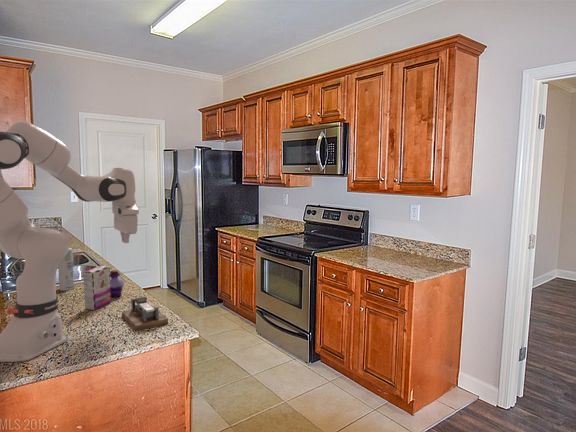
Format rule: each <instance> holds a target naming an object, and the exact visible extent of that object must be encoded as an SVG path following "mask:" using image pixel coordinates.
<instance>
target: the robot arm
mask: <svg viewBox="0 0 576 432" xmlns="http://www.w3.org/2000/svg"><path fill="white" fill-rule="evenodd" d="M71 158H72V154H71V149H70V148H69V147H68V145H66V144H65V143H64V142H63V141H61V140H60V139H59V138H57V137H56V136H54V135H53V134H52V133H49V132H48V131H47V130H45V129H43V128H41V127H39V126H37V125H35V124H33V123H31V122H28V121H18V122H16V123H13V124H11V126H9V128H8V129H7V130H6V131H0V251H1V252H2V253H3V254H6V255H7V256H10V257H12V258H15V259H20V260H24V262H25V263H24V267H23V270H22V273H21V274H20V275H19V276H18V277H17V278H16V281H15V284H16V287H15V288H16V303H15V307H14V308H13V307H9V308H8V307H7V309H6V314H7V315H12V316H13V317H12V318H11V320H9V322H8V324H7V325H6V326H5V327H4V328H3V330H2V331H1V333H0V363H2V362H5V363H7V362H8V363H11V362H12V363H16V362H17V363H18V362H23V361H24V362H25V361H29V360H31V359H34V358H36V357H38V356H40V355H42V354H44V353H45V352H48V351H49V350H52V349H54V348H56V347H58V346H60V345H62V344H64V343H66V342H67V340H68V339H67V337H66V336H65V334H64V329H63V328H64V327H63V323H62V317H61V315H60V313H59V311H58V309H59V299H58V296H57V286H56V285H57V283H56V282H57V281H56V279H57V278H56V277H57V271H58V265H59V263H60V261H61V259H62V258H64V257H65V256H66V254H67V253H68V251H69V248H71V244H70V242H71V241H70V240H69V238H68V236H67V234H65V233H63V232H62V231H59V230H56V229H55V228H50V227H49V228H48V227H38V226H37V225H34V224H33V223H32V222H31V221H30V219H29V217H28V214H29V208H28V205H26V203H25V202H24V201H23V200H22V199H21V198H20V196H19V195H18V194H17V193H16V192H15V190H14V189H13V188H12V187H11V186H10V185H9V184H8V182H6V180H5V178H4V176H3V173H2V170H9V169H12V168H13V169H14V168H15V167H16V166H19V165H20V164H21V163H22V161H23V160H24V159H25V160H27V161H28V162H29V163H31V164H33V165H35V166H36V167H39V168H40V169H41V170H44V171H45V172H47V173H48V174H50V175H51V176H52V177H54V178H55V179H56V180H59V181H60V182H62V183H63V184H64V185H66V186H67V187H68V188H70V189H71V190H72V192H73V193H74V195H75V196H76V197H77V198H78V199H79V200H80V201H83V202H86V203H88V202H90V203H91V202H97V203H98V202H99V203H102V202H103V203H106V202H107V203H109V202H111V208H112V209H111V210H112V212H111V213H112V214H114V215H113V227H114V230H117V231H119V232H120V237H121V242H122V243H124V244H129V243H130V235H136V234H137V231H138V220H139V219H138V215H139V213H140V212H139V208H138V207H137V199H136V197H135V194H136V177H135V175H134V172H133V171H132V170H130V169H128V168H123V167H115V168H113V169H112V170H111V171H110V172H109V173H107V174H104V175H102V176H93V175H92V176H91V175H84V174H81V173H80V172H79V171H77V170H75V169H74V168H73V167H71V165H69V164H70V162H71Z"/></svg>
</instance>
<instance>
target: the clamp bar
mask: <svg viewBox="0 0 576 432" xmlns="http://www.w3.org/2000/svg"><path fill="white" fill-rule="evenodd" d="M143 297H144V296H142V297H137V298H134V299H135V304H136V305H139V306H140V307H141V308H142V309H145V310H146V313H147V312H151V311H154V308H153V307H154V306H153V305H151V304H150V303H148V301H146V300H145V299H144V298H143ZM152 306H153V307H152Z"/></svg>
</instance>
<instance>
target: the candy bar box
mask: <svg viewBox="0 0 576 432" xmlns="http://www.w3.org/2000/svg"><path fill="white" fill-rule="evenodd" d="M110 267H111V266H110V265H99V266H96V267H93V268H91V269H88V270H84V271H83V272H82V273H83V274H82V276H83V290H84V291H83V292H84V308H85V310H88V311H89V310H91V311H96V310H98V309H100V308H102V307H104V306H107V305H108V304H110V303H112V298H111V284H110V280H111V277H110V272H111V269H110Z"/></svg>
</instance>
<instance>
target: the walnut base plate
mask: <svg viewBox="0 0 576 432" xmlns="http://www.w3.org/2000/svg"><path fill="white" fill-rule="evenodd" d="M151 306H152V307H153V308H154V307H155V306H153V305H151ZM121 317H122V318H123V319H124V320H125V322H127V323H128V324H129V325H130V327H132V328H133V329H134V331H135V332H137V331H141V330H146V329H151V328H154V327H160V326H164V325H168V324H169V318H168V317H167V316H165V315H164V314H163V313H162V312H161V311H159V320H155V319H150V320H146V322H145V323H144V322H142V318H141V317H140V316H139V315H138V314H137V313H135V312H132V311H131V309H130V310H123V311H122V312H121Z"/></svg>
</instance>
